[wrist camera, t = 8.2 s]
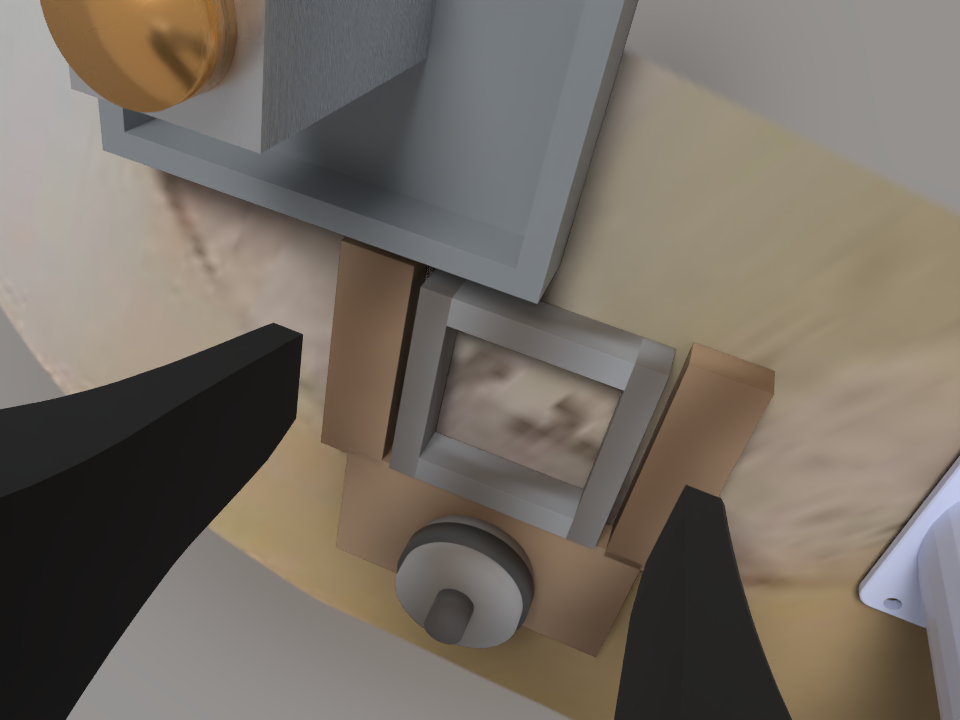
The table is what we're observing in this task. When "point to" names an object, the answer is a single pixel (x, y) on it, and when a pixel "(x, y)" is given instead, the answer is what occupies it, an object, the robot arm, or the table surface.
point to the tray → (436, 143)
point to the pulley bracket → (501, 483)
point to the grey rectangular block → (238, 58)
